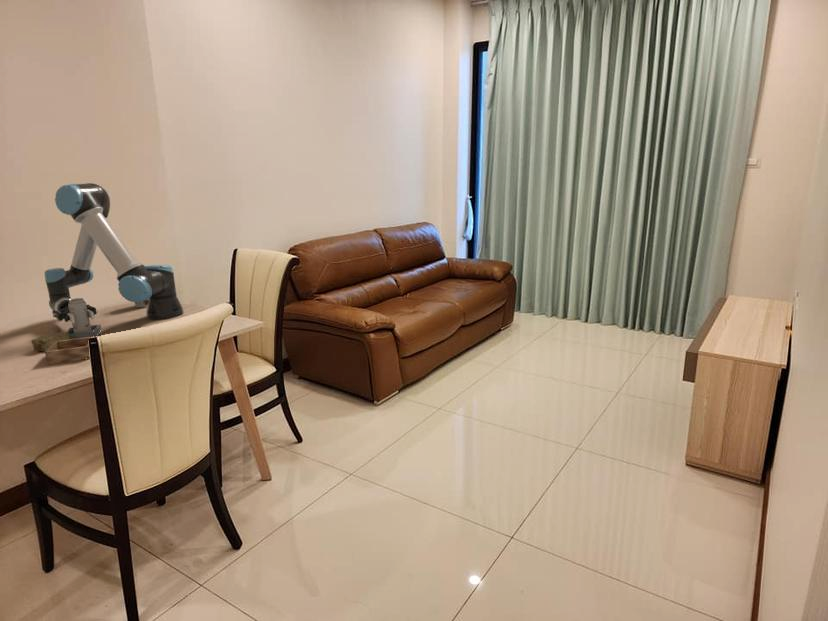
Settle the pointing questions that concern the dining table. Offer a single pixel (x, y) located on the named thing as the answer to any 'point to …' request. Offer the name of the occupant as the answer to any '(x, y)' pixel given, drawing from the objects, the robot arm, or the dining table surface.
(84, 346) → the walnut bin
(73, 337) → the tray
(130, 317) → the dining table surface
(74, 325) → the energy drink can
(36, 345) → the stone block
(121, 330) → the dining table surface
